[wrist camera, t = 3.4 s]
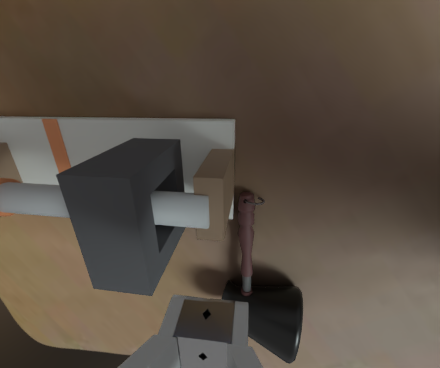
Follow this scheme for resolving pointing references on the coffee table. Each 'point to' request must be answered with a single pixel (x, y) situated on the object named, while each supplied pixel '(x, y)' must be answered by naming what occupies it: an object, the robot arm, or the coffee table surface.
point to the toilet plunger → (266, 296)
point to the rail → (106, 139)
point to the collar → (124, 212)
